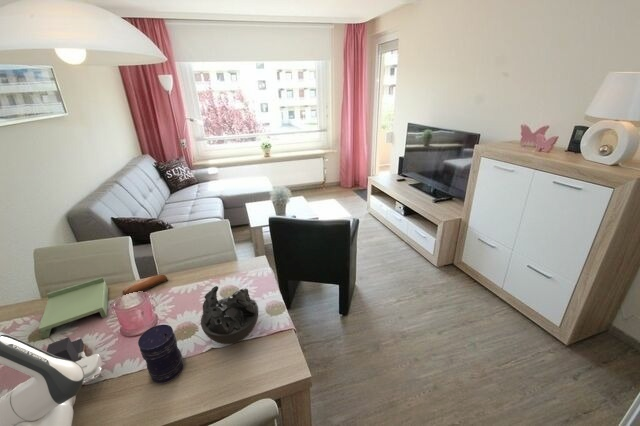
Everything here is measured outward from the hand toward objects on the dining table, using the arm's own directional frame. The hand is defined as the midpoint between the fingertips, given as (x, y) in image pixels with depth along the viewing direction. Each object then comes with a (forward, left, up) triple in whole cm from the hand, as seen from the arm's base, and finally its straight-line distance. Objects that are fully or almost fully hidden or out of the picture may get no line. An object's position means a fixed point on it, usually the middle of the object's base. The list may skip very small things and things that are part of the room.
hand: (63, 360), depth 93 cm
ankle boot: (0, +5, -7) cm, 8 cm away
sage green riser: (-1, +37, -7) cm, 37 cm away
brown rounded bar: (+24, +38, -7) cm, 46 cm away
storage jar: (+27, -16, -7) cm, 32 cm away
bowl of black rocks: (+50, -14, -7) cm, 53 cm away
